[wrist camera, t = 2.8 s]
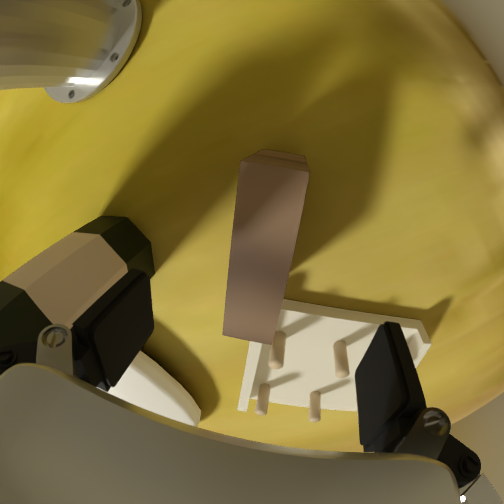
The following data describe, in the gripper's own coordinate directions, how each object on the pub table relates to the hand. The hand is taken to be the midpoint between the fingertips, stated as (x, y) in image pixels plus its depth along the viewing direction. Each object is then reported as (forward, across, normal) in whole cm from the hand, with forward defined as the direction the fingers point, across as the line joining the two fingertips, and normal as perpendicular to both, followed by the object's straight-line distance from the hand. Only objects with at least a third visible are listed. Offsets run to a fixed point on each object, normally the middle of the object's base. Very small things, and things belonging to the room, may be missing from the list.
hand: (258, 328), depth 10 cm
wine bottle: (+12, +15, +5) cm, 20 cm away
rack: (+12, -7, +13) cm, 19 cm away
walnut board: (+12, +1, -1) cm, 12 cm away
